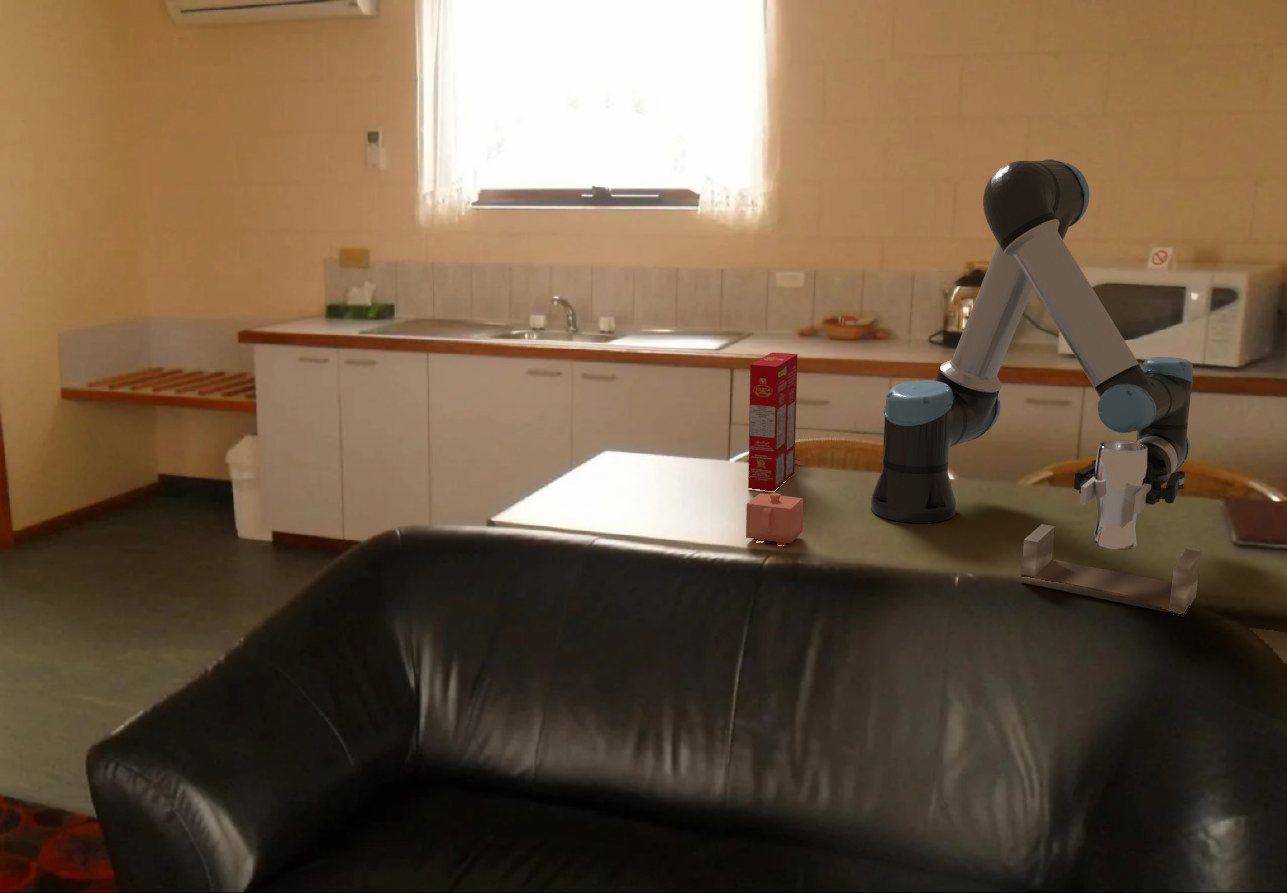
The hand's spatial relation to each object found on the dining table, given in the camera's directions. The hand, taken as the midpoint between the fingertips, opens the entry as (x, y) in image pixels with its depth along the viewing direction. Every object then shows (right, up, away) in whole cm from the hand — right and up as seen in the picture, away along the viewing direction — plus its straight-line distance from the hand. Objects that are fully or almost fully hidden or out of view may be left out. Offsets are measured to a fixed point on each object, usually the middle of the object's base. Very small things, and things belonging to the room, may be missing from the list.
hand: (1110, 499), depth 163 cm
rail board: (+3, -14, +8) cm, 16 cm away
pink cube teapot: (-44, -8, +32) cm, 55 cm away
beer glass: (+3, -7, +6) cm, 10 cm away
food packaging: (-41, 0, +66) cm, 78 cm away
